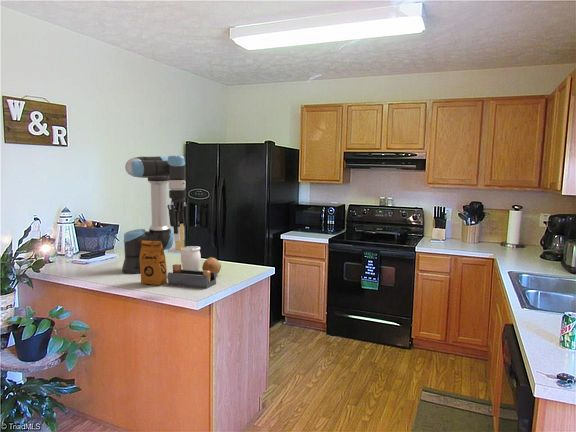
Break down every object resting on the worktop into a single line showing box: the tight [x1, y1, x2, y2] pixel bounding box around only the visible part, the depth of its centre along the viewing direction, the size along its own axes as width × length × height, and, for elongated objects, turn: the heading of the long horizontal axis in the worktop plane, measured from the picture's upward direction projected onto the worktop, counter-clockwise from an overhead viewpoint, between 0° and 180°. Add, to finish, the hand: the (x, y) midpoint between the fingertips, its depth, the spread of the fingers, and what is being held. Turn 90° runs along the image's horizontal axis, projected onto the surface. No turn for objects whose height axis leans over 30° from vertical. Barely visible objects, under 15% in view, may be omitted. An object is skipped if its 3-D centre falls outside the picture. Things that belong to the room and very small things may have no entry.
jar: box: [180, 245, 202, 271], centre depth 232 cm, size 11×10×15 cm
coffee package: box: [139, 241, 168, 286], centre depth 214 cm, size 10×12×22 cm
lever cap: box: [167, 223, 192, 254], centre depth 197 cm, size 10×5×13 cm, turn 71°
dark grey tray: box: [167, 263, 217, 290], centre depth 212 cm, size 22×9×9 cm, turn 71°
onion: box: [201, 257, 222, 276], centre depth 229 cm, size 10×10×10 cm
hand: (179, 239), depth 198 cm, fingers closed on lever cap, 3 cm apart
